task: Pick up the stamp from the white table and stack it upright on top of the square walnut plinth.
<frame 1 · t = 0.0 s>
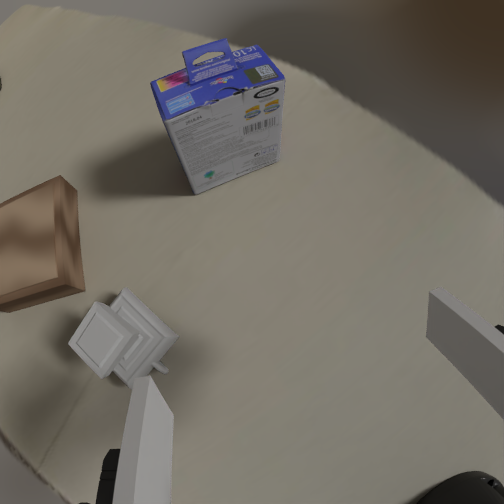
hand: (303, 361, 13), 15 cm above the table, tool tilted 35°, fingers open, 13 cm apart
ink cartridge box: (229, 158, 34), on the table
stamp: (140, 339, 29), on the table
plinth: (39, 252, 31), on the table
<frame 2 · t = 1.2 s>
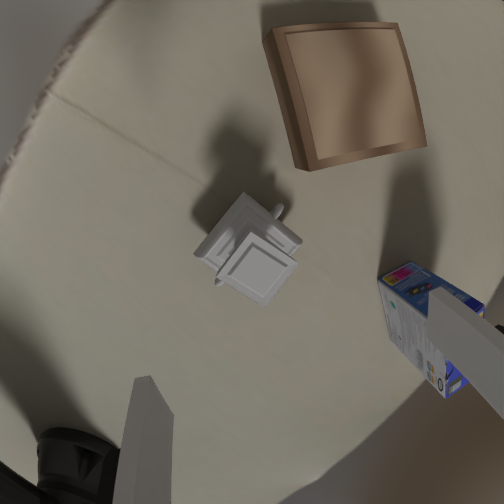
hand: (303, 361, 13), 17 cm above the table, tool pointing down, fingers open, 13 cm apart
ink cartridge box: (401, 301, 35), on the table
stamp: (244, 237, 30), on the table
plinth: (340, 93, 26), on the table
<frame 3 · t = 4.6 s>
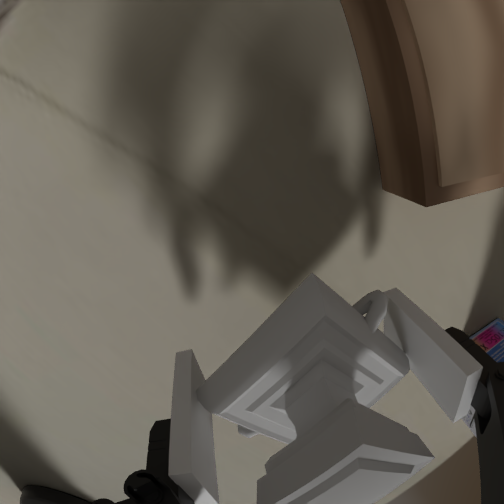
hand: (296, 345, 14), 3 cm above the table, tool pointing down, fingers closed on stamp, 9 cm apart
ink cartridge box: (475, 364, 23), on the table
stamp: (293, 339, 15), point 3 cm above the table, touching gripper
plinth: (447, 74, 14), on the table
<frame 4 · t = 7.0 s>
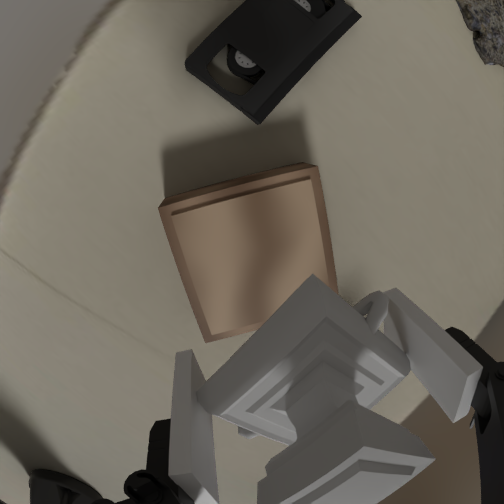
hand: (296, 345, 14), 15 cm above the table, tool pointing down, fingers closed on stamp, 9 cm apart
stone slab: (493, 23, 24), on the table
vhs tape: (273, 39, 23), on the table
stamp: (294, 340, 15), point 15 cm above the table, touching gripper
plinth: (250, 245, 28), on the table
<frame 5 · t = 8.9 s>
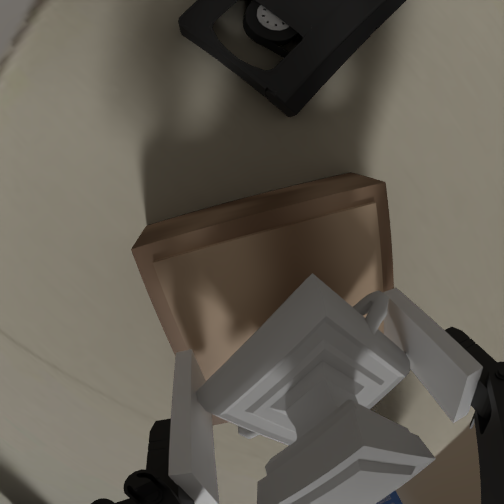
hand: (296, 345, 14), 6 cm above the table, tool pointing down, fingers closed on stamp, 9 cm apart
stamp: (293, 340, 15), point 5 cm above the table, touching gripper
plinth: (273, 291, 20), on the table
when the fingers open (6 cm above the table, at t = 9.4 s): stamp drops 1 cm, resting on plinth.
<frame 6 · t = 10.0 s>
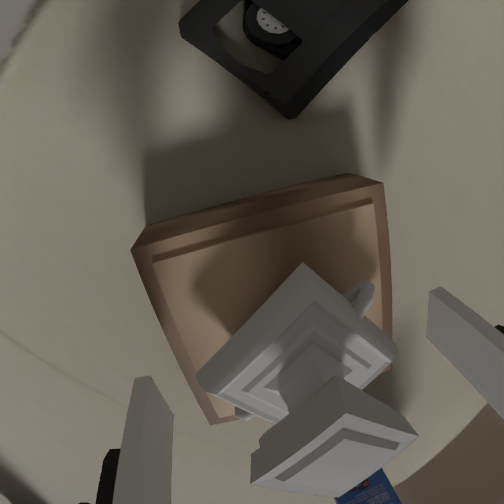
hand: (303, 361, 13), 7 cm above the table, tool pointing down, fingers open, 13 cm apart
ink cartridge box: (348, 460, 29), on the table
vhs tape: (308, 1, 15), on the table
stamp: (287, 328, 16), point 4 cm above the table, touching plinth
plinth: (272, 291, 20), on the table
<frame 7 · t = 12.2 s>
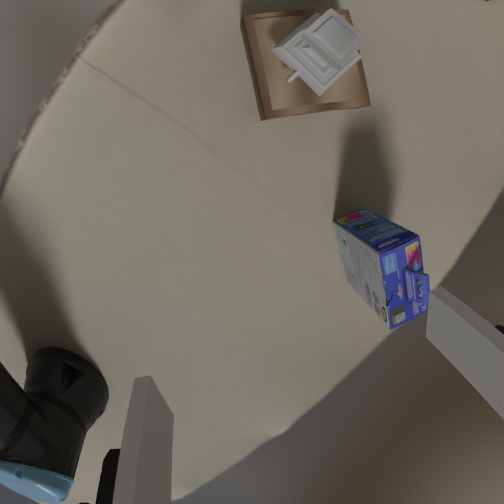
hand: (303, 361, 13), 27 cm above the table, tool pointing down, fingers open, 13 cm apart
ink cartridge box: (358, 246, 42), on the table
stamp: (310, 58, 29), point 4 cm above the table, touching plinth
plinth: (300, 65, 33), on the table
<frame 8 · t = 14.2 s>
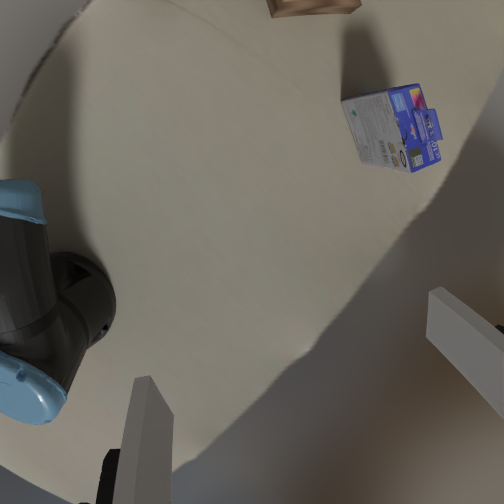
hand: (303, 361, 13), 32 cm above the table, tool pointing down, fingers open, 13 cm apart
ink cartridge box: (366, 127, 42), on the table
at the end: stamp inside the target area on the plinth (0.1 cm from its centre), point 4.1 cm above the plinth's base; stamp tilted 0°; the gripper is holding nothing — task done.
